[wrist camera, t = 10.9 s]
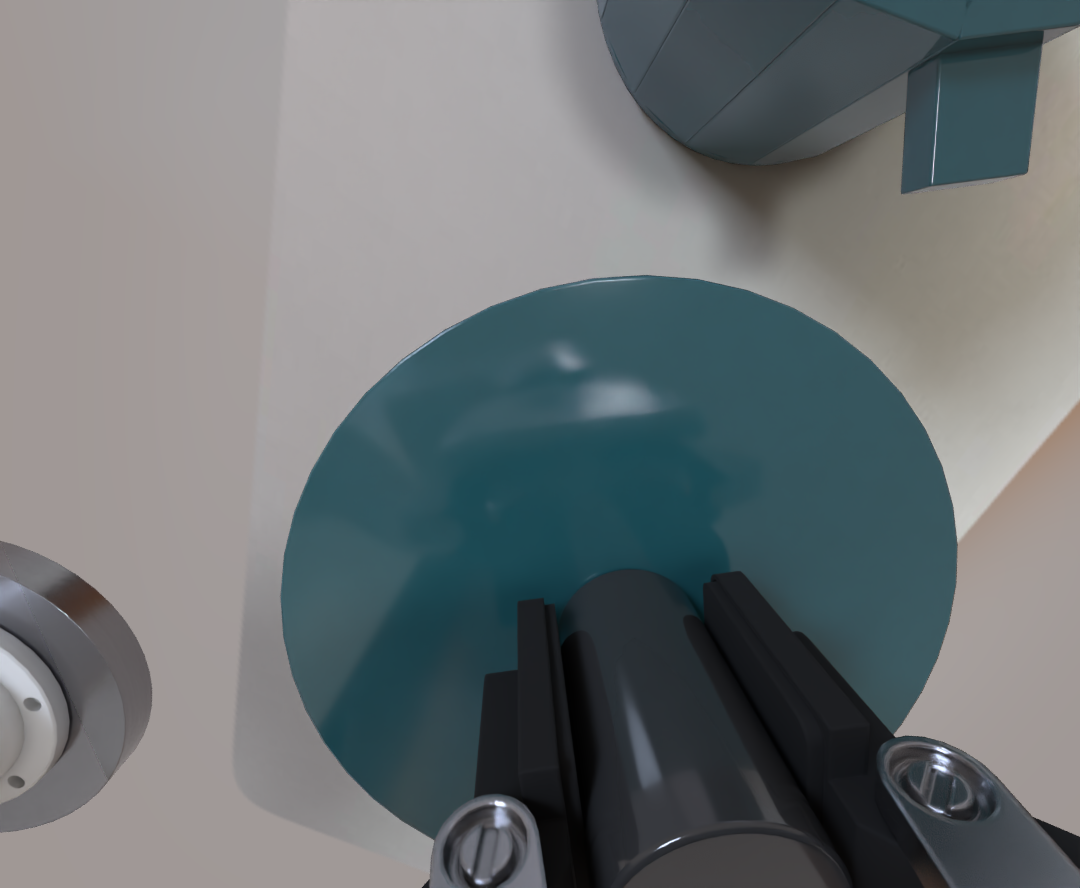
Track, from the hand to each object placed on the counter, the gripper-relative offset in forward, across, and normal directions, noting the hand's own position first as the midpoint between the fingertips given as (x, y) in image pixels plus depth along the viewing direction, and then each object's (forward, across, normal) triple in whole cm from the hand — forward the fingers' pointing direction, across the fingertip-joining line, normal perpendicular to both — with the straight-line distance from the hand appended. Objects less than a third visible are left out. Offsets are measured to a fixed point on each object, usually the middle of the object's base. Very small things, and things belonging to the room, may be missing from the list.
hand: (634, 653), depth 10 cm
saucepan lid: (+1, 0, 0) cm, 1 cm away
